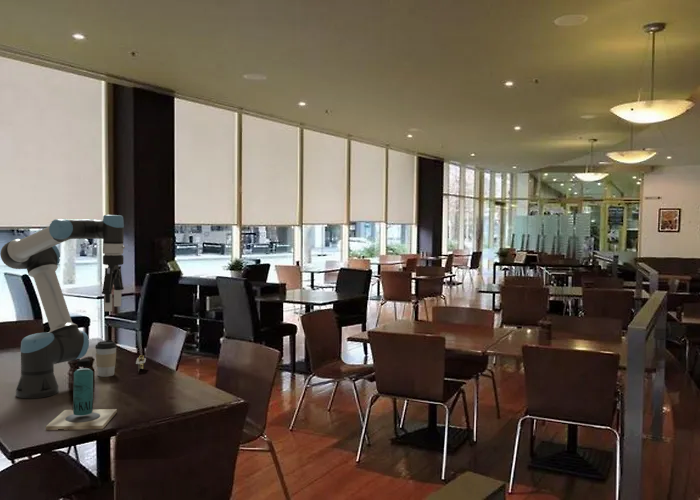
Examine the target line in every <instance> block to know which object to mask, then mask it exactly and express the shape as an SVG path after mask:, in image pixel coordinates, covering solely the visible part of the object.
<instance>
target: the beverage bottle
mask: <svg viewBox="0 0 700 500" xmlns="http://www.w3.org/2000/svg"><path fill="white" fill-rule="evenodd" d="M76 363H77V364H76V366H77V367H78V369H75V371H74V372H73V387H72V388H73V389H72V391H73V392H72V396H73V398H72V399H73V401H72V410H73V413H74V415H88V414H91V413H92V411H93V409H94V371H93V370H92V369H91V368H86V367H90V366H91V361H90V359H88V358H83V359H82V358H80V359H77V362H76Z"/></svg>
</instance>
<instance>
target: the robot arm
mask: <svg viewBox="0 0 700 500" xmlns="http://www.w3.org/2000/svg"><path fill="white" fill-rule="evenodd" d="M124 223H125V221H124V216H123V215H120V214H118V215H117V214H105V215H103V216H102V219H94V218H93V219H90V218H89V219H77V218H76V219H75V218H73V219H72V218H58V219H56V218H55V219H53V220H52V221H51V222H50V224H49V226H48V227H46V228H43V229H41V230H38V231H35V232H34V233H31V234H30V235H28V236H26V237H23V238H21V239H20V238H16V239H13V240H11V241H8V242H7V243H5V244H4V245H3V246H2V248H1V249H0V259H1V261H2V262H3V264H5V266H6V267H8V268H10V269H13V270H14V269H15V270H26V272H27V274H28V276H29V277H31V278H33V279H34V283H35V286H36V289H37V292H38V296H39V299H40V301H41V304H42V308H43V310H44V313H45V316H46V317H45V318H46V321H47V323H48V327H49V328H50V329H49V331H48V332H47V331H45V332H37V333H32V334H29V335H27V336H25V337H23V338H22V340H21V341H20V349H19V350H20V377H19V379H18V382H17V383H18V384H17V386H16V389H15V397H17V398H19V399H29V400H30V399H40V398H41V399H42V398H48V397H51V396H52V397H53V396H54V395H56V394H58V393H59V383H58V381H57V378H56V374H55V365H57V364H61V363H66V362H71V361H76V360H81V359H82V358H83V357H85V356H86V354H87V352H88V350H89V347H90V339H89V336H88V334H87V332H85V330H81V329H79V326H78V324H76V323H74V322H73V321H72V318H71V314H70V311H69V309H68V306H67V301H66V300H65V297H64V293H63V291H62V288H61V284H60V281H59V279H58V276H57V272H56V271H57V269H58V268H59V264H60V261H61V259H60V258H61V254H60V250H59V248H58V247H57V245H59V244H62V243H64V242H67V241H69V240H78V239H79V240H81V239H83V240H85V239H86V240H88V239H89V240H90V239H93V240H95V239H98V240H99V239H100V240H102V253H103V254H104V255H102V264H103V265H105V266H107V267H105V268H104V278H103V286H102V291H101V294H102V295H103V296H104V297H103V299H104V302H103V307H104V308H103V311H104V312H113V307H122V291H123V290H124V289H125V288H124V284H123V277H122V266H121V265H124V262H125V261H124V255H123V254H124V250H125V249H126V246H125V245H124V241H125V239H124V235H125V228H124V227H125V224H124ZM113 287H114V290H113ZM112 292H113V294H112Z"/></svg>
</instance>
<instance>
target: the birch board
mask: <svg viewBox="0 0 700 500" xmlns="http://www.w3.org/2000/svg"><path fill="white" fill-rule="evenodd" d="M117 413H118V409H117V408H112V409H111V408H110V409H109V408H107V409H103V408H102V409H99V408H98V409H97V408H96V409H94V408H93V411H92V413H91V414H88V415H74V413H73V409H64V410H63V411H61V413H59V414H58V415H57V416H56V417H55V418H54V419H52V420H51V421H50V422H49V423H48V424H47V425H46V426H45V430H46V431H58V429H64V430H65V431H67V430H68V429H69V430H104V428H106V425H108V423H109V422H111V420H112V419H113V418H114V416H115V415H116V414H117ZM64 430H63V431H64Z"/></svg>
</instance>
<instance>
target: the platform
mask: <svg viewBox="0 0 700 500" xmlns="http://www.w3.org/2000/svg"><path fill="white" fill-rule="evenodd" d="M146 360H147V358H146V357H144V355H143V354H141V355H139V357H137V358H136V361H135V364H136V365H138V366H137V367H138V370H137V372H138V373H139V372H140V369H142V370H143V369H144V364H145V363H146Z"/></svg>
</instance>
